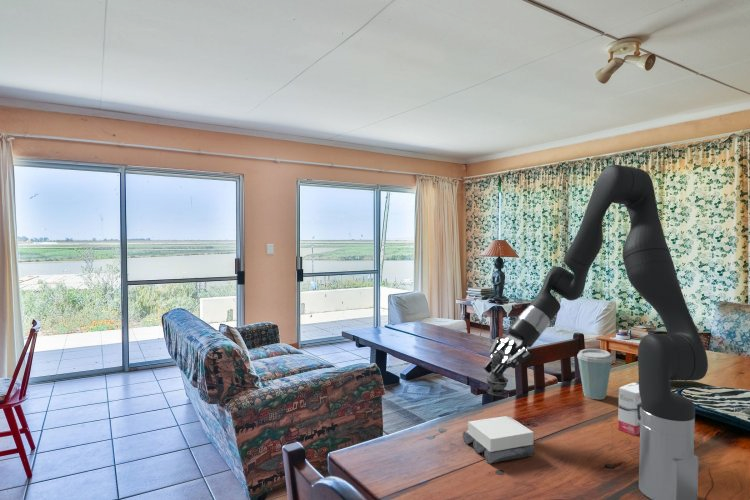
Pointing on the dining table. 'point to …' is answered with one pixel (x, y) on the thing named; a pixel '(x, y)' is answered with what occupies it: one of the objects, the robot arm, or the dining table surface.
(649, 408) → the robot arm
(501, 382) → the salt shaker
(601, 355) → the disposable coffee cup
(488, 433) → the slab
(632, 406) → the ink box
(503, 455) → the roller track
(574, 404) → the dining table surface
